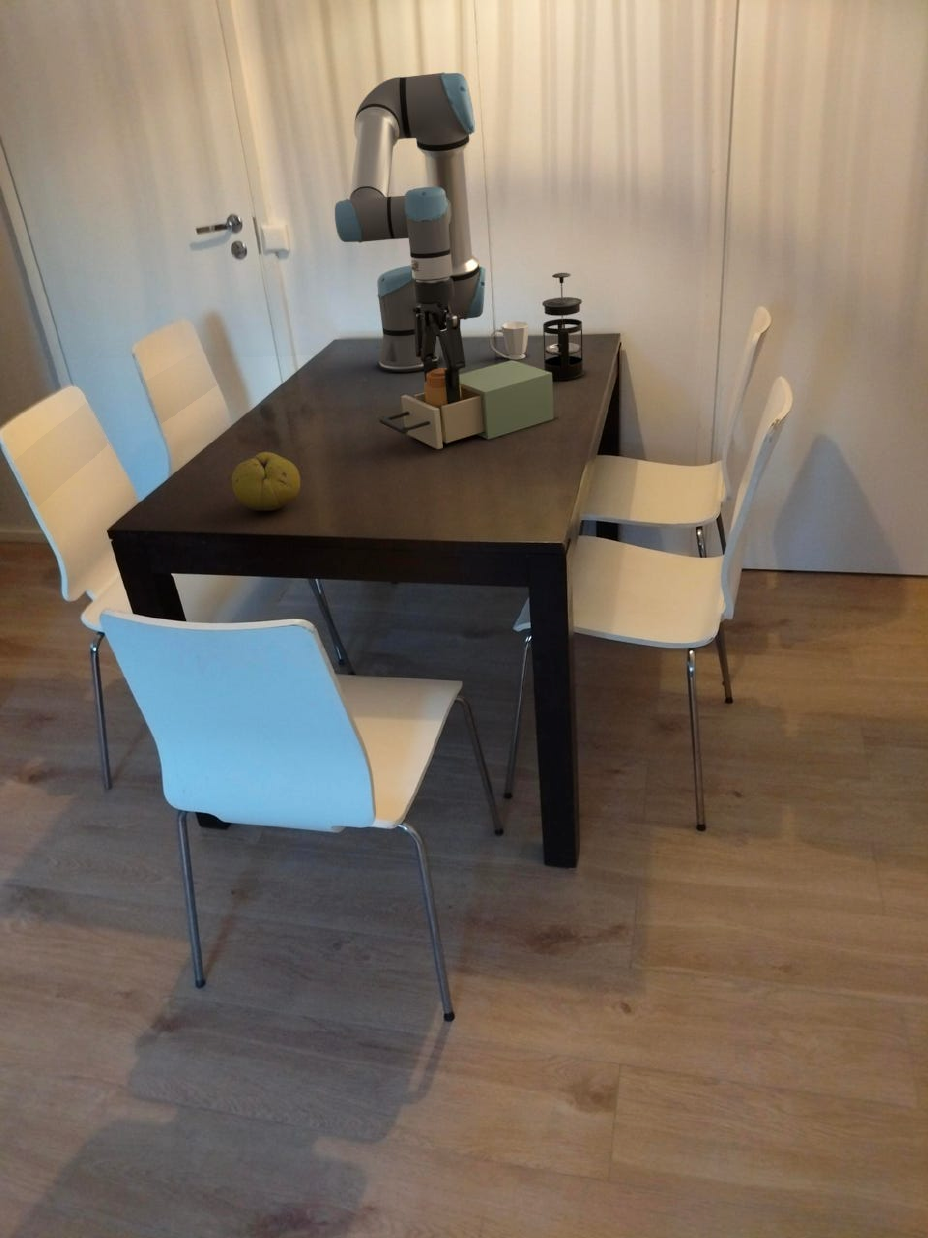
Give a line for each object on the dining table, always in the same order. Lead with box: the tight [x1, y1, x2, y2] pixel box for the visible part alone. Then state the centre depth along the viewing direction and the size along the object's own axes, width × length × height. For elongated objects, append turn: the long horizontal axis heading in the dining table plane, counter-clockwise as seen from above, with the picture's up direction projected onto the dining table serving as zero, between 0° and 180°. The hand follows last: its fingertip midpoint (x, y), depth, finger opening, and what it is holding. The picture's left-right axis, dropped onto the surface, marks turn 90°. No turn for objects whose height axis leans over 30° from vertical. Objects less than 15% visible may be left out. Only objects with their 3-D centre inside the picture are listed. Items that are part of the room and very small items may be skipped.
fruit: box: [231, 451, 301, 512], centre depth 164 cm, size 11×12×10 cm
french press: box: [541, 272, 585, 382], centre depth 215 cm, size 12×9×23 cm
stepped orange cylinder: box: [423, 367, 461, 405], centre depth 185 cm, size 7×7×6 cm
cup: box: [489, 321, 530, 361], centre depth 235 cm, size 7×10×8 cm
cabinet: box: [459, 359, 554, 440], centre depth 194 cm, size 17×14×10 cm
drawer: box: [378, 387, 485, 450], centre depth 187 cm, size 22×13×8 cm, turn 124°
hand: (443, 397), depth 186 cm, fingers closed on stepped orange cylinder, 7 cm apart
